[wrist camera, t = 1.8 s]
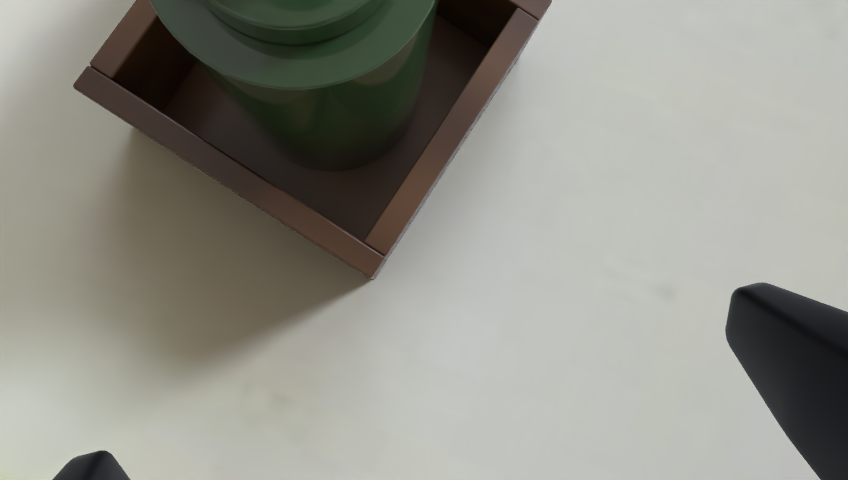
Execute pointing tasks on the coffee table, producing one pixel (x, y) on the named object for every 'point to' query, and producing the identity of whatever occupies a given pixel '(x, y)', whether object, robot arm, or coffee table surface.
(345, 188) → the crate
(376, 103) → the bottle
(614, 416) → the coffee table surface
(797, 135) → the coffee table surface
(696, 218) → the coffee table surface
